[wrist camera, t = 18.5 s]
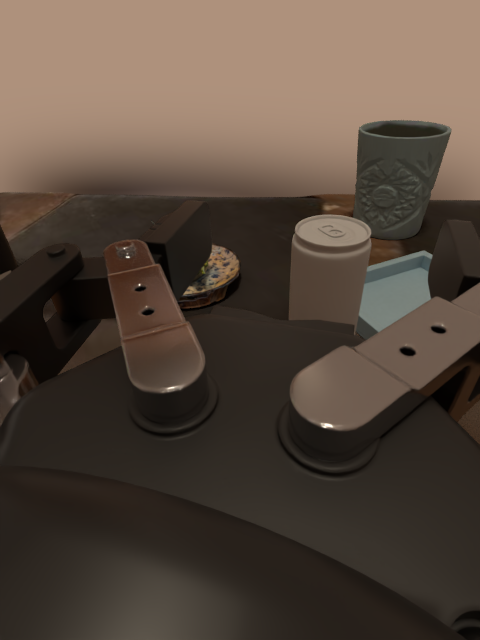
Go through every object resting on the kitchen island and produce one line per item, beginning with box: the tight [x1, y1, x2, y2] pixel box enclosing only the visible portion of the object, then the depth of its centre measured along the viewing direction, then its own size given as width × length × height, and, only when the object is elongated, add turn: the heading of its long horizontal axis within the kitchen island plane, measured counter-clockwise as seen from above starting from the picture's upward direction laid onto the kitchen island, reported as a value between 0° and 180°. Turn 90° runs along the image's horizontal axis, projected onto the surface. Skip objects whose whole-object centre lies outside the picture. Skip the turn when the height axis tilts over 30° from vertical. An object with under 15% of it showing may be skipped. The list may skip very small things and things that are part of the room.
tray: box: [356, 251, 433, 340], centre depth 35 cm, size 16×14×2 cm
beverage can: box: [289, 215, 371, 335], centre depth 27 cm, size 5×5×12 cm
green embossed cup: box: [353, 120, 451, 240], centre depth 48 cm, size 10×10×12 cm
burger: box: [151, 220, 241, 309], centre depth 40 cm, size 12×12×8 cm
